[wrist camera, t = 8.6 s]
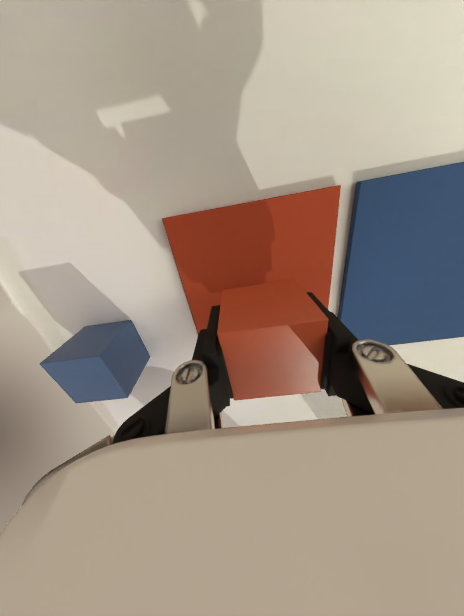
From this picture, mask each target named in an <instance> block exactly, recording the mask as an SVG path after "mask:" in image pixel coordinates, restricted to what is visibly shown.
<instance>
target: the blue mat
mask: <svg viewBox="0 0 464 616" xmlns="http://www.w3.org/2000/svg"><path fill="white" fill-rule="evenodd" d="M338 319H339V320H340V321H341V322H342V323H343V324H344V325H345V326H346V327H347V328H348V329H349V330H350V331H351V332H352V333H353V335H354V336H355V337H356V338H357V339H358V340H363V339H369V340H376V341H380V342H382V343H385V344H387V345H396V344H405V343H413V342H422V341H431V340H439V339H448V338H457V337H464V162H461V163H456V164H450V165H445V166H440V167H434V168H429V169H424V170H418V171H413V172H408V173H402V174H397V175H392V176H386V177H381V178H376V179H370V180H365V181H360V182H357V185H356V192H355V199H354V207H353V214H352V221H351V228H350V235H349V243H348V250H347V257H346V264H345V271H344V279H343V286H342V293H341V300H340V308H339V315H338Z"/></svg>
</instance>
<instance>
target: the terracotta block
mask: <svg viewBox="0 0 464 616" xmlns="http://www.w3.org/2000/svg"><path fill="white" fill-rule="evenodd" d="M327 328H328V318H327V317H326V315H325V314H324V313H323V312H322V311H321V310H320V308H319V307H318V306H317V305H316V304H315V303H314V301H313V300H312V299H311V298H310V297H309V295H308V294H307V293H306V292H305V291H304V290H303V288H302V287H301V286H300V285H299V284H298V282H297V281H296V280H295V279H292V280H286V281H279V282H272V283H266V284H259V285H253V286H246V287H239V288H233V289H226V290H222V297H221V305H220V314H219V323H218V331H217V335H218V339H219V343H220V347H222V351H223V355H224V359H225V363H226V367H227V371H228V375H229V379H230V383H231V387H232V391H233V395H234V397H233V398H234V400H243V399H253V398H263V397H272V396H282V395H292V394H302V393H311V392H320V391H321V388H320V382H321V372H322V363H323V354H324V344H325V335H326V334H327Z"/></svg>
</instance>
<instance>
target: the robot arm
mask: <svg viewBox="0 0 464 616" xmlns="http://www.w3.org/2000/svg"><path fill="white" fill-rule="evenodd" d="M306 293H307V294H308V295H309V297H310V298H311V299H312V300H313V301H314V303H315V304H316V305H317V306H318V307H319V308H320V310H321V311H322V312H323V313H324V314H325V315H326V317H327V318H328V328H327V334H326V335H325V344H324V354H323V363H322V372H321V382H320V388H321V389H325V390H326V392H327V394H328V396H335V395H337V396H338V397H340V398H342V402H343V405H344V408H345V411H346V414H347V417H341V418H330V419H318V420H307V421H296V422H285V423H274V424H263V425H252V426H242V427H231V428H223V424H222V416H221V411H222V410H223V409H224V408H225V407H226V406H230V398H233V397H234V395H233V391H232V387H231V383H230V379H229V375H228V371H227V367H226V363H225V359H224V355H223V351H222V347H220V343H219V339H218V335H217V331H218V323H219V314H220V305H216V306H212V307H211V311H210V316H209V321H208V326H207V329H201V330H200V332H199V335H198V339H197V343H196V347H195V350H194V354H193V358H192V360H190V361H187V362H185V363H183V364H181V365H180V366H179V367H178V368H177V369H176V370H175V371H174V373H173V376H172V382H171V386H170V387H169V388H167V389H166V390H165V391H164V392H162V393H161V394H160V395H158V396H157V397H156V398H154V399H153V400H152V401H151V402H149V403H148V404H147V405H145V406H144V407H143V408H141V409H140V410H139V411H137V412H136V413H135V414H134V415H132V416H131V417H130V418H128V419H127V420H126V421H125V422H124V423H123V424H122V425H121V426H120V428H119V429H118V430H117V432H116V434H115V436H114V437H111V436H110V435H109V436H107V437H106V438H104V439H102V440H101V441H99V442H97V443H96V444H94V445H92V446H91V447H89V448H88V449H86V450H84V451H83V452H81V453H79V454H78V455H76V456H74V457H73V458H71V459H69V460H68V461H66V462H65V463H63V464H61V465H59V466H58V467H56V468H54V469H53V470H51V471H50V472H49V473H48V474H46V475H44V476H43V477H42V478H41V479H40V480H39V481H38V482H37V483H36V484H35V485H34V486H33V487H32V489H31V490H30V492H29V493H28V494H27V496H26V498H25V500H24V502H23V504H22V506H21V508H20V509H19V510H18V511H17V512H16V514H15V515H14V516H13V517H12V519H11V520H10V521H9V522H8V524H7V525H6V526H5V528H4V529H3V530H2V532H1V533H0V616H464V383H463V382H460V381H457V380H454V379H451V378H448V377H445V376H442V375H439V374H436V373H433V372H430V371H427V370H424V369H421V368H418V367H415V366H412V365H409V364H406V363H405V361H404V360H403V359H402V358H401V357H400V355H399V354H398V353H397V352H396V351H395V350H394V349H393V348H392V347H390V346H389V345H387V344H385V343H382V342H380V341H376V340H369V339H363V340H358V339H357V338H356V337H355V336H354V335H353V333H352V332H351V331H350V330H349V329H348V328H347V327H346V326H345V325H344V324H343V323H342V322H341V321H340V320H339V319H338V318H337V317H336V316H335V315H334V314H333V313H332V312H330V311H329V310H328V309H327V308H326V307H325V306H324V305H323V304H322V303H321V302H320V301H319V300H318V299H317V297H316V296H315V295H314V294H313V293H312V292H306Z"/></svg>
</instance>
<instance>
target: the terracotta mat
mask: <svg viewBox="0 0 464 616" xmlns="http://www.w3.org/2000/svg"><path fill="white" fill-rule="evenodd" d="M340 188H341V185H338V186H333V187H328V188H322V189H317V190H312V191H306V192H301V193H296V194H290V195H285V196H280V197H274V198H269V199H264V200H258V201H253V202H248V203H242V204H237V205H232V206H226V207H221V208H216V209H210V210H205V211H200V212H194V213H189V214H184V215H178V216H173V217H168V218H163V219H162V220H163V224H164V227H165V230H166V233H167V236H168V239H169V243H170V246H171V249H172V252H173V255H174V259H175V262H176V265H177V268H178V271H179V274H180V278H181V281H182V284H183V287H184V290H185V294H186V297H187V300H188V303H189V306H190V309H191V313H192V316H193V319H194V322H195V325H196V329H197V332H198V335H199V332H200V330H201V329H207V326H208V321H209V316H210V311H211V307H212V306H216V305H221V297H222V290H226V289H233V288H239V287H246V286H253V285H259V284H266V283H272V282H279V281H286V280H292V279H295V280H296V281H297V282H298V284H299V285H300V286H301V287H302V288H303V290H304V291H305V292H312V293H313V294H314V295H315V296H316V297H317V299H318V300H319V301H320V302H321V303H322V304H323V305H324V306H325V307H326V308H327V309H328V304H329V294H330V284H331V275H332V265H333V255H334V246H335V236H336V227H337V217H338V207H339V198H340Z"/></svg>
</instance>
